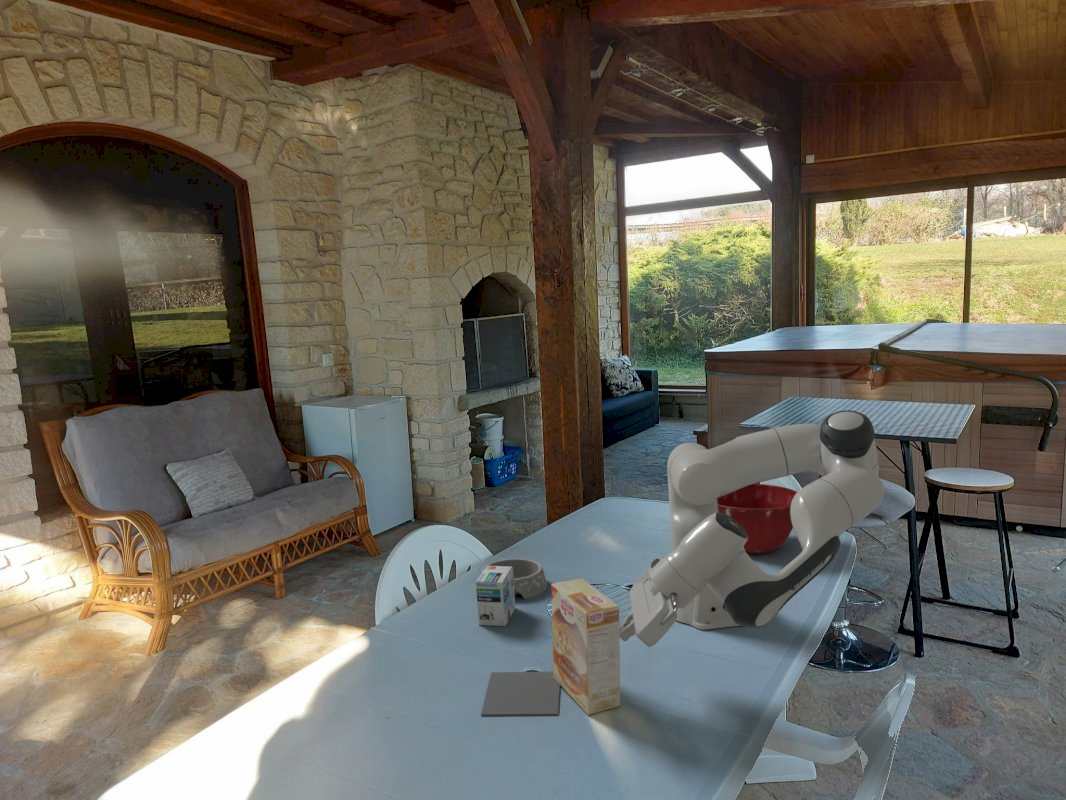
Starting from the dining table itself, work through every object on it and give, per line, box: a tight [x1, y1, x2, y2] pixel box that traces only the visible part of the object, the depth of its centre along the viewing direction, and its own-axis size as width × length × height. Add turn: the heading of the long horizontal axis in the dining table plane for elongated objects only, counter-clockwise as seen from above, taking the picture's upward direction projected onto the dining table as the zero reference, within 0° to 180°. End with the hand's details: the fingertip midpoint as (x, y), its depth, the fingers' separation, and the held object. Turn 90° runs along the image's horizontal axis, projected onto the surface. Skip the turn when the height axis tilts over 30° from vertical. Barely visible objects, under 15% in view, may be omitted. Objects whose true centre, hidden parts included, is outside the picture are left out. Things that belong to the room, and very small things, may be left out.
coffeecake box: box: [550, 578, 621, 716], centre depth 138 cm, size 15×7×20 cm, turn 23°
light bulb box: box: [475, 566, 516, 627], centre depth 175 cm, size 11×7×11 cm, turn 168°
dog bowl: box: [479, 557, 548, 600], centre depth 193 cm, size 17×18×5 cm
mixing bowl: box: [717, 483, 798, 555], centre depth 213 cm, size 28×28×16 cm
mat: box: [480, 671, 561, 717], centre depth 141 cm, size 14×15×1 cm
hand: (621, 635), depth 138 cm, fingers closed
